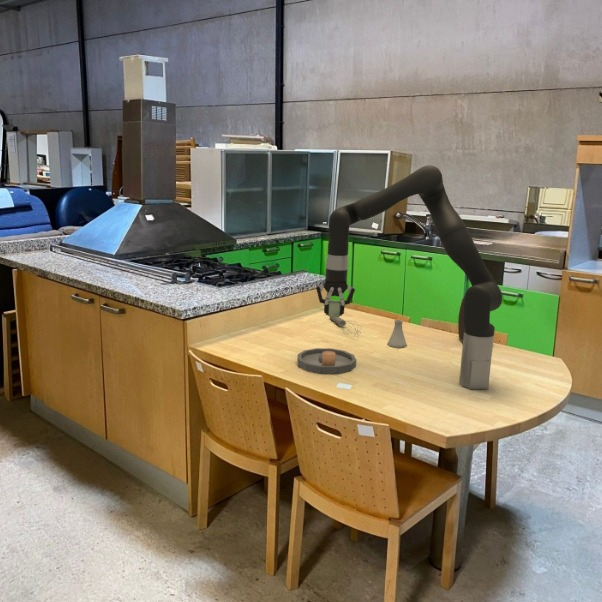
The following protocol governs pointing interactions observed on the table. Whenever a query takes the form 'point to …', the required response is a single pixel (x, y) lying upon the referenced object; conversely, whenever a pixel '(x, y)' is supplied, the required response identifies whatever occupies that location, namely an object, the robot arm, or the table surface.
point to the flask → (397, 336)
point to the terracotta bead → (328, 358)
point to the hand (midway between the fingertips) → (333, 314)
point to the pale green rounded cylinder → (334, 308)
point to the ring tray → (313, 361)
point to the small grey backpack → (461, 322)
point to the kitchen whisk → (343, 323)
